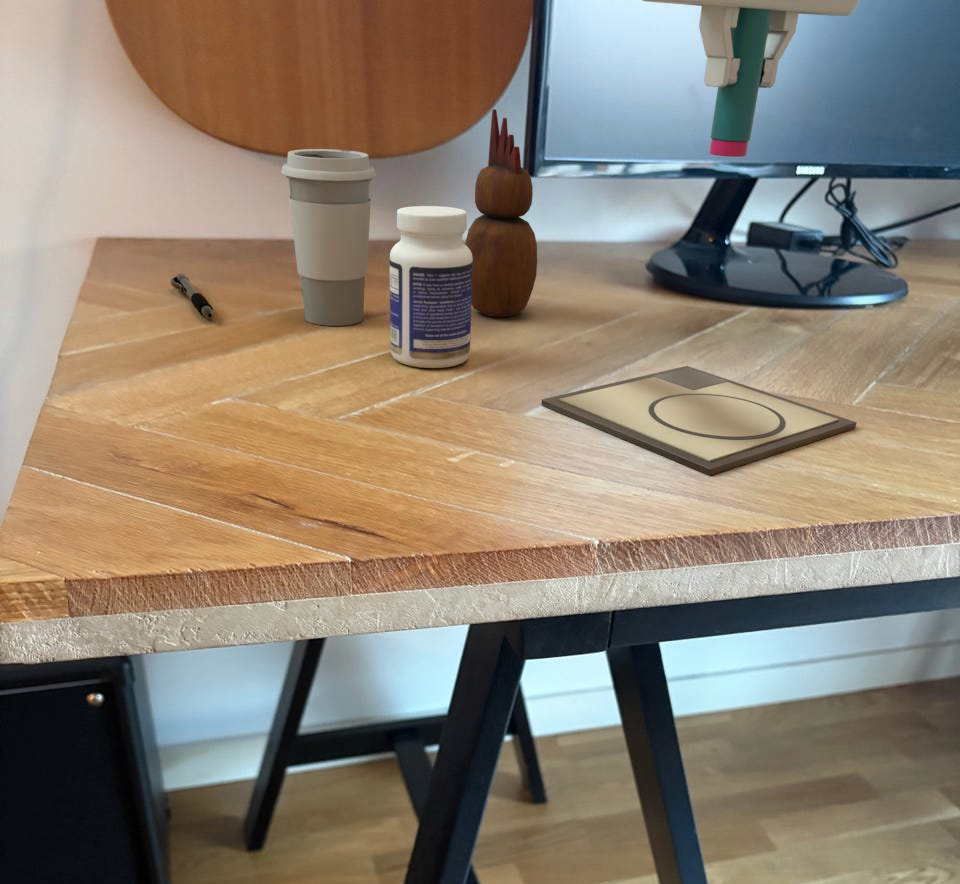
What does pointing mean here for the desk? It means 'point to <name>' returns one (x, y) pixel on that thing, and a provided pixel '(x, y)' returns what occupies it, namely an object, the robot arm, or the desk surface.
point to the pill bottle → (430, 288)
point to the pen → (193, 295)
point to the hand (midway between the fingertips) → (739, 87)
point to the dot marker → (741, 85)
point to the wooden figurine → (502, 230)
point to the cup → (330, 231)
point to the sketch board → (699, 418)
